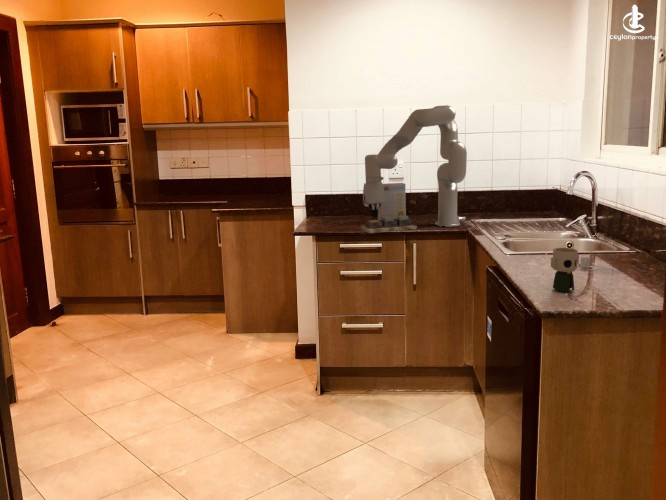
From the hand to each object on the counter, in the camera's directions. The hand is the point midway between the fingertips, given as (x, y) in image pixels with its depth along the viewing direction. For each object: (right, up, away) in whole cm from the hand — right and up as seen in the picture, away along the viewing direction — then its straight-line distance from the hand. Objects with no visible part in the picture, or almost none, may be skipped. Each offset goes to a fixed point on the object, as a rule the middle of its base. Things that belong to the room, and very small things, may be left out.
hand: (374, 217), depth 309 cm
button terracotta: (-1, -5, +1) cm, 5 cm away
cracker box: (+10, -2, +23) cm, 25 cm away
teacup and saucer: (+72, -23, -85) cm, 114 cm away
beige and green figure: (+51, -29, -114) cm, 128 cm away
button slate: (+7, -3, +3) cm, 8 cm away
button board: (+7, -6, +4) cm, 10 cm away
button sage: (+14, -2, +6) cm, 16 cm away
